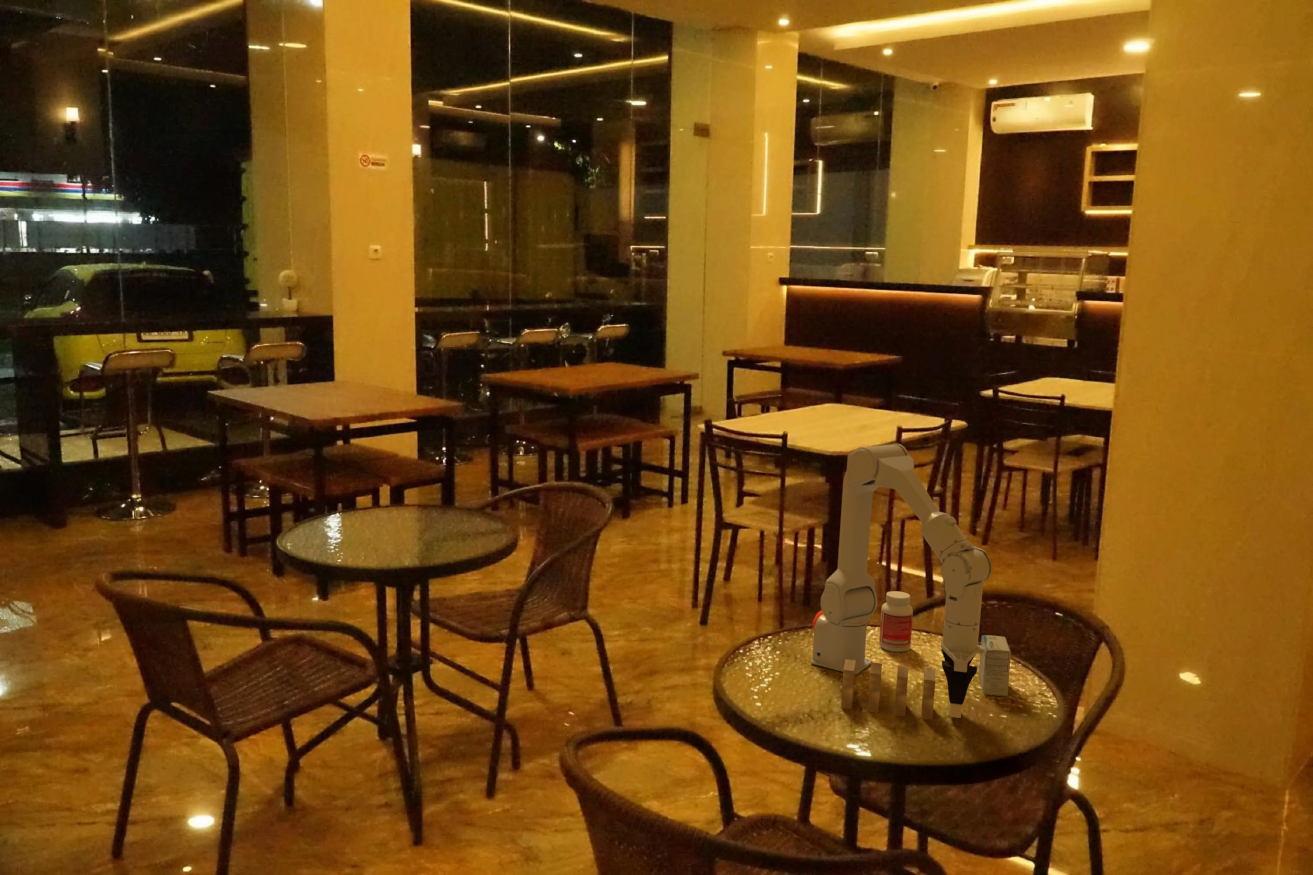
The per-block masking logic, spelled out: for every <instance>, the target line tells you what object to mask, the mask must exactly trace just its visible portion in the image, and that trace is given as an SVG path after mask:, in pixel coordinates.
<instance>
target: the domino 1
mask: <svg viewBox="0 0 1313 875" xmlns="http://www.w3.org/2000/svg"><path fill="white" fill-rule="evenodd" d="M855 666H856V660H848V659H845V664H844V669H843V672H842V682H841V683H842V684H841V685H842V686H841V702H840V709H845V710H852V708H853V704H854V702H853V701H854V697H855V696H854V694H855V681H856V680H855V678H856V675H855Z"/></svg>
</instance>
